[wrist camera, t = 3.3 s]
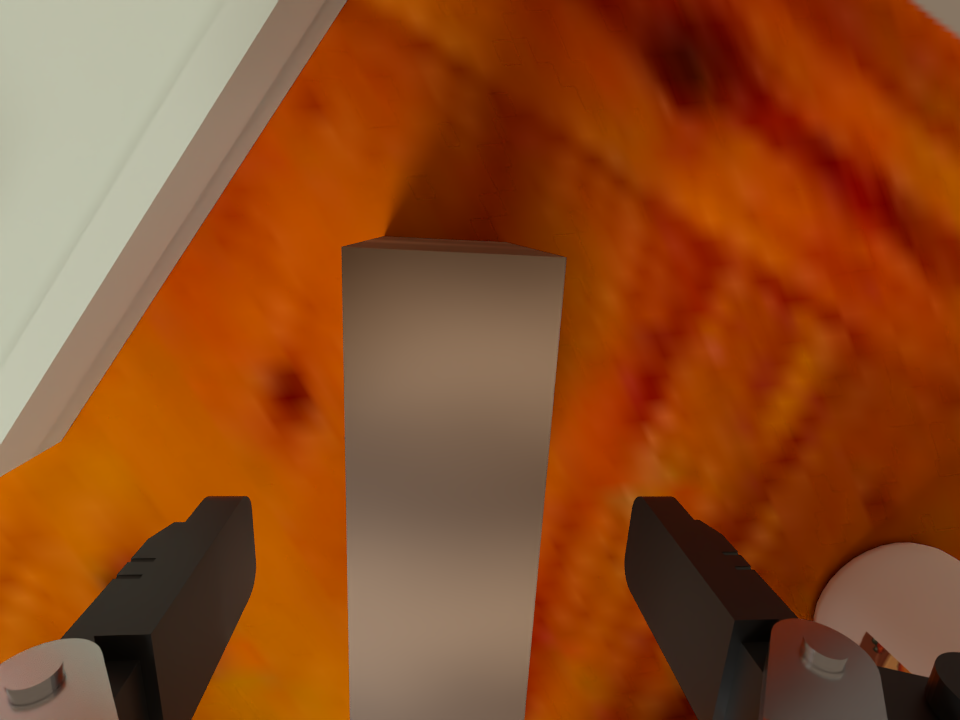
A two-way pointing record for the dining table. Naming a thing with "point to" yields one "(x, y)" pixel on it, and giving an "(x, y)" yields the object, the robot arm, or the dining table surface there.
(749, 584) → the robot arm
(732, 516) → the dining table surface
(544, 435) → the wooden block
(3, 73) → the ledge
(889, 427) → the dining table surface
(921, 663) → the milk bottle
